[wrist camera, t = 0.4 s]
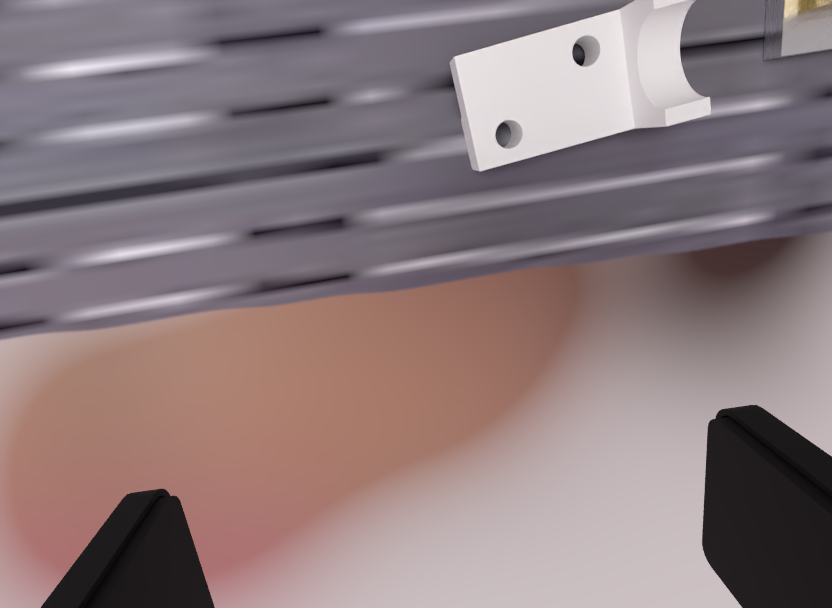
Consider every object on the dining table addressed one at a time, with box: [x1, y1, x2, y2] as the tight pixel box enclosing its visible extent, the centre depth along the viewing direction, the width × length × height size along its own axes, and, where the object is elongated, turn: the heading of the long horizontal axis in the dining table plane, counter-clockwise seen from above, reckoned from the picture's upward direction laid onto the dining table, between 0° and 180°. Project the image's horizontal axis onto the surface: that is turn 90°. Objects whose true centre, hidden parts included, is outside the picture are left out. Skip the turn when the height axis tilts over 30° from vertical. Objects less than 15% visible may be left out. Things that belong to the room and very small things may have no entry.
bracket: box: [449, 0, 711, 172], centre depth 32 cm, size 13×7×8 cm, turn 105°
